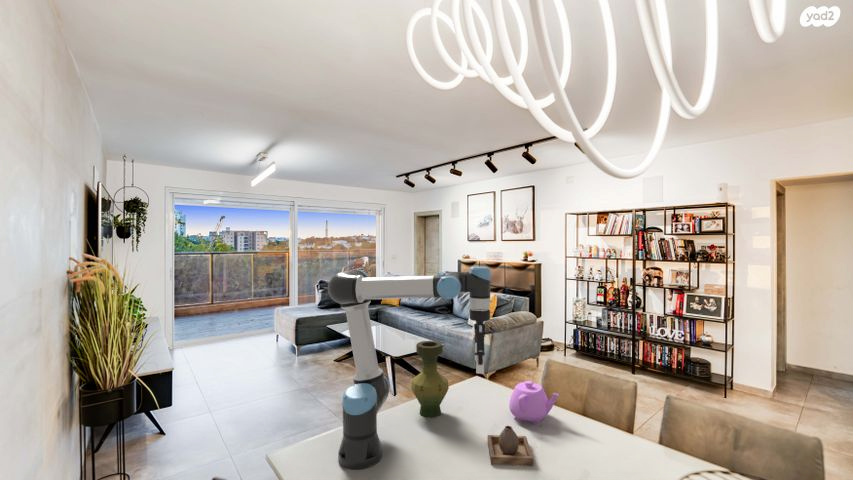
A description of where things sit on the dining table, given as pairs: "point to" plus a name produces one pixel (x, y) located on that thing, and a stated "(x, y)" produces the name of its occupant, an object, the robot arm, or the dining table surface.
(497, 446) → the walnut tray
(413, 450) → the dining table surface
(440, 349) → the vase
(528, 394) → the teapot
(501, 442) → the vase
